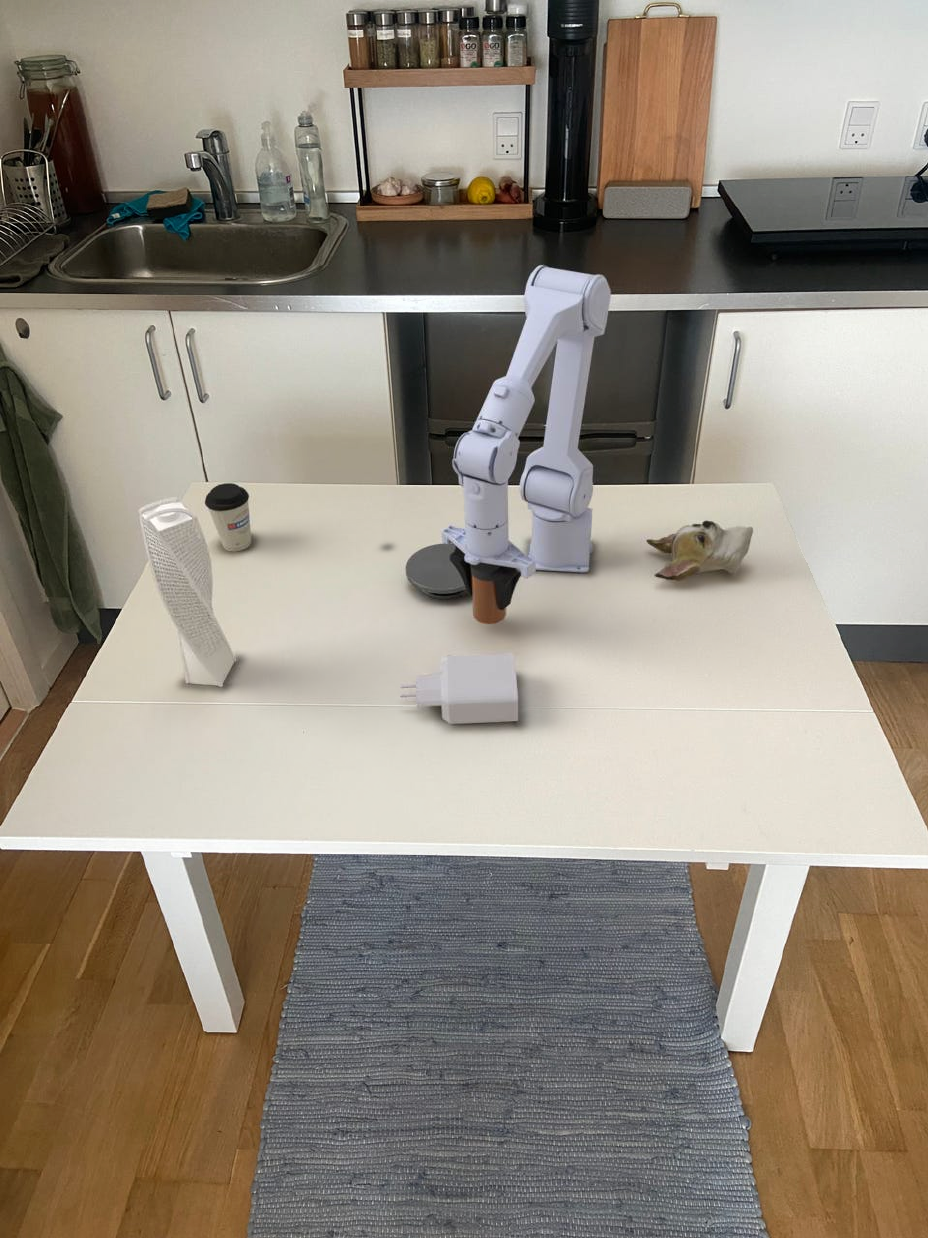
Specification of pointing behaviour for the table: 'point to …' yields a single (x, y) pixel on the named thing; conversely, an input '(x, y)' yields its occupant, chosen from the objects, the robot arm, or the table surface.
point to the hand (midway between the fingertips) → (489, 599)
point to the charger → (471, 689)
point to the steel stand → (435, 572)
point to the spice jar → (485, 594)
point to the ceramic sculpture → (703, 549)
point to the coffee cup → (230, 515)
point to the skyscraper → (186, 589)
